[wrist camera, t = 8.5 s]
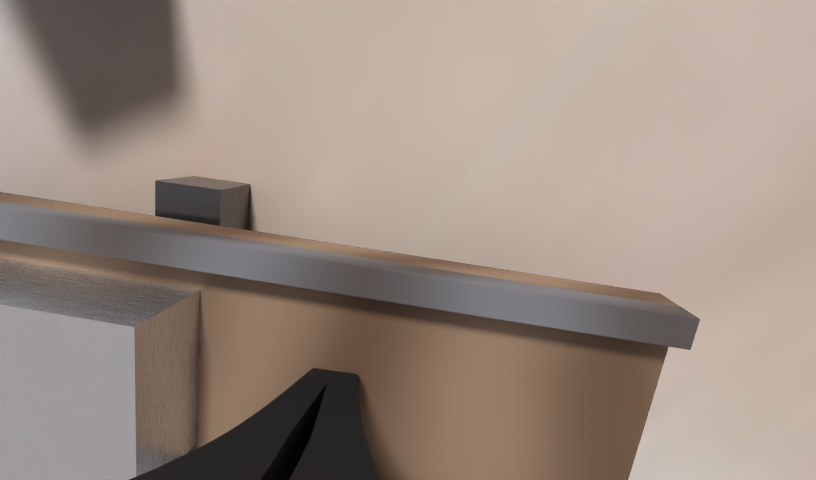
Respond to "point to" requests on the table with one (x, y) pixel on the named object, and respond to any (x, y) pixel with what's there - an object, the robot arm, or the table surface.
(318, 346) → the beam
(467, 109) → the table surface
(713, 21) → the table surface
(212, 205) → the pivot stand
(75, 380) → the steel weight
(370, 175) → the table surface
